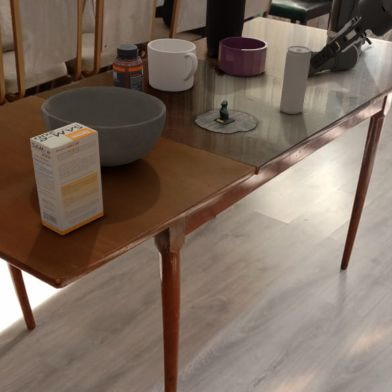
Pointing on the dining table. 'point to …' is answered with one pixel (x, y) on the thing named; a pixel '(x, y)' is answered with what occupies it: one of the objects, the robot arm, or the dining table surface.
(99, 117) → the bowl
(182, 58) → the mug
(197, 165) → the dining table surface
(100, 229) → the dining table surface
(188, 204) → the dining table surface
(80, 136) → the supplement box
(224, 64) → the plum bowl
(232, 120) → the sculpture
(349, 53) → the flashlight
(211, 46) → the portable speaker
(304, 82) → the beverage can
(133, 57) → the supplement bottle
